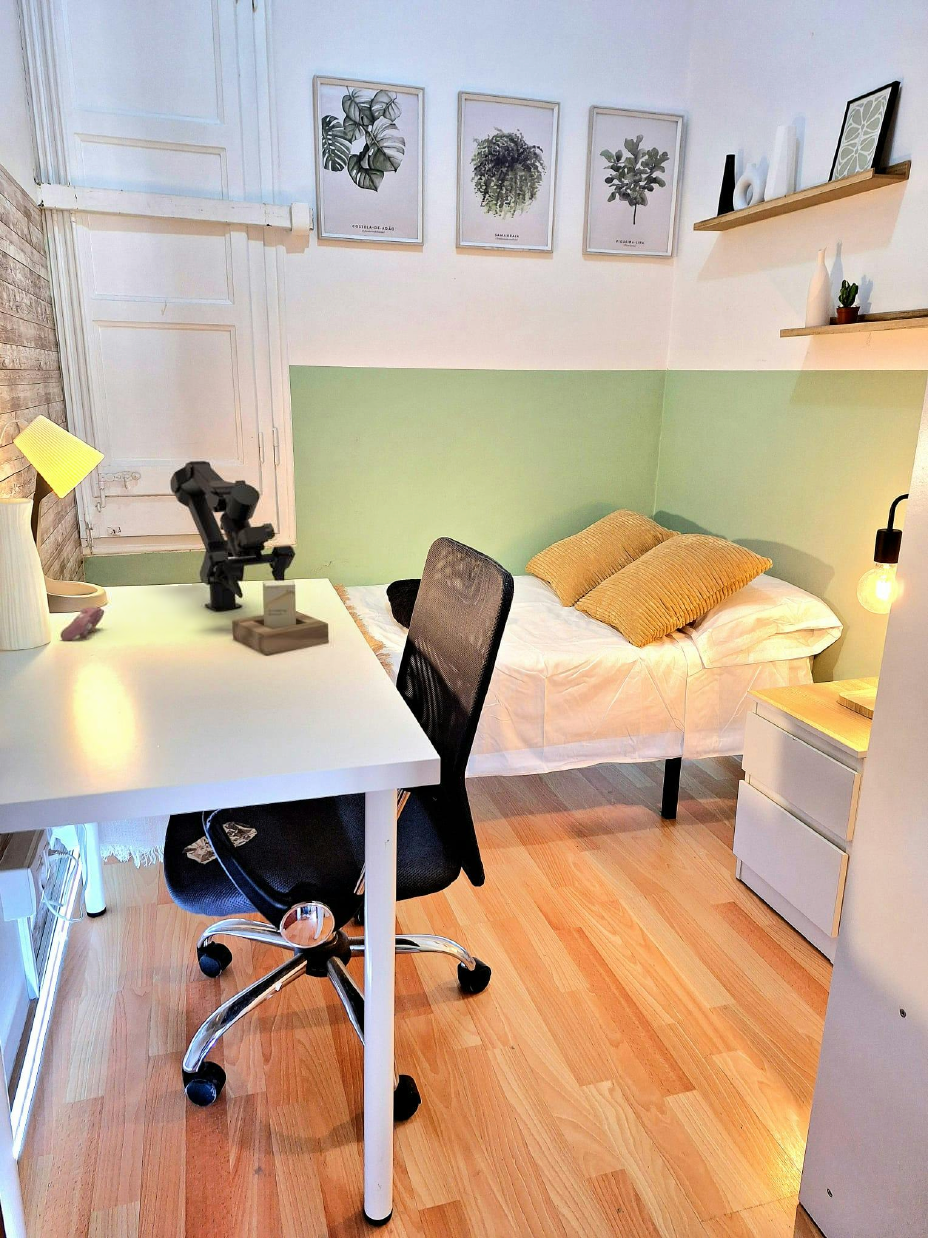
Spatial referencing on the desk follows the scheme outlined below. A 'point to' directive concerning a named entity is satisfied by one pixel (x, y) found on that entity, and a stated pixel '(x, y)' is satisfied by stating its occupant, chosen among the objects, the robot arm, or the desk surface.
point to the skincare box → (279, 604)
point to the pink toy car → (83, 623)
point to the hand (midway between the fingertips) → (262, 594)
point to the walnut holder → (280, 634)
